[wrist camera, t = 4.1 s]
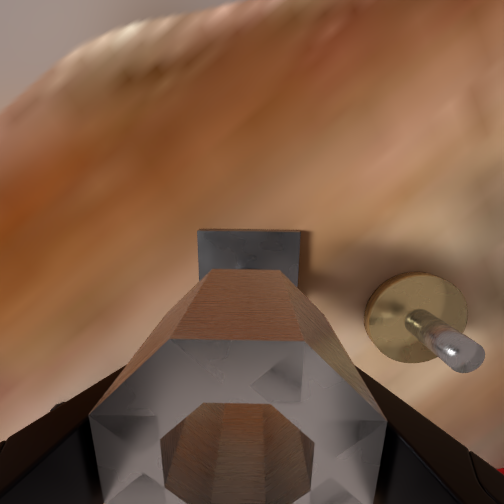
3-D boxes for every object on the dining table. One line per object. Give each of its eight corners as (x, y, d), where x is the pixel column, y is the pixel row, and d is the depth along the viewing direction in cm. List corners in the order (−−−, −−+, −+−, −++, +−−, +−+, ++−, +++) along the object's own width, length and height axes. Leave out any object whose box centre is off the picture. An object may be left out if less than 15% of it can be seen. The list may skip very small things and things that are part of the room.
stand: (293, 319, 18) (308, 368, 13) (203, 317, 18) (182, 366, 13) (298, 230, 17) (318, 244, 11) (200, 228, 17) (175, 242, 11)
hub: (446, 355, 19) (513, 409, 14) (359, 353, 19) (395, 407, 14) (464, 272, 17) (547, 301, 12) (370, 271, 17) (414, 299, 12)
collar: (316, 406, 10) (362, 565, 6) (174, 403, 10) (113, 558, 6) (327, 270, 9) (401, 342, 4) (164, 267, 9) (74, 336, 4)
